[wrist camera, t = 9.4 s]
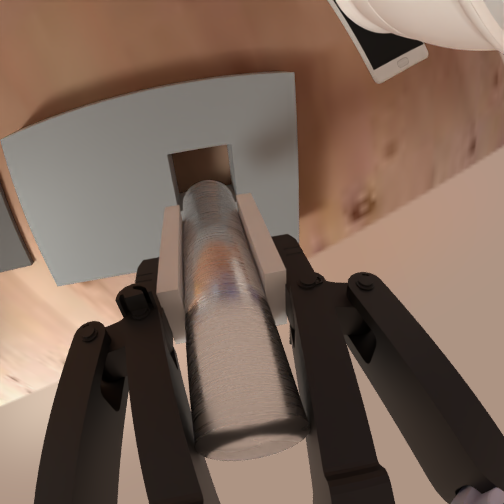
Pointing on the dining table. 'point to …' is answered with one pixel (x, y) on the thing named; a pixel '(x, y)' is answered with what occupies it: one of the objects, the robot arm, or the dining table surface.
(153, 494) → the robot arm
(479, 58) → the dining table surface
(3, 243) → the mat
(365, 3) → the jar
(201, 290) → the peg
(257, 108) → the block with square hole
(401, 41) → the smartphone
